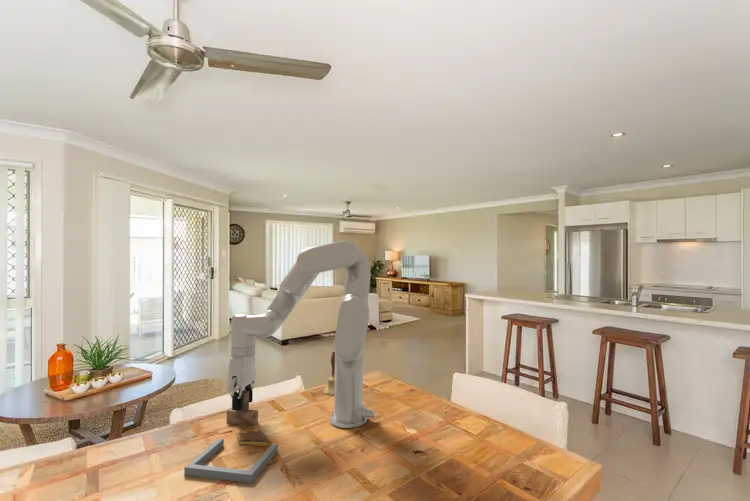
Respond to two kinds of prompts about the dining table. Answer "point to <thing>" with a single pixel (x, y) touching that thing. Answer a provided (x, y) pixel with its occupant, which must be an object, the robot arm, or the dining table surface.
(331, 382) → the hand bell
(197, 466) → the frame
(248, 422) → the brown wooden block
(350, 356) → the robot arm
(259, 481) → the dining table surface
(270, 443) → the shard
